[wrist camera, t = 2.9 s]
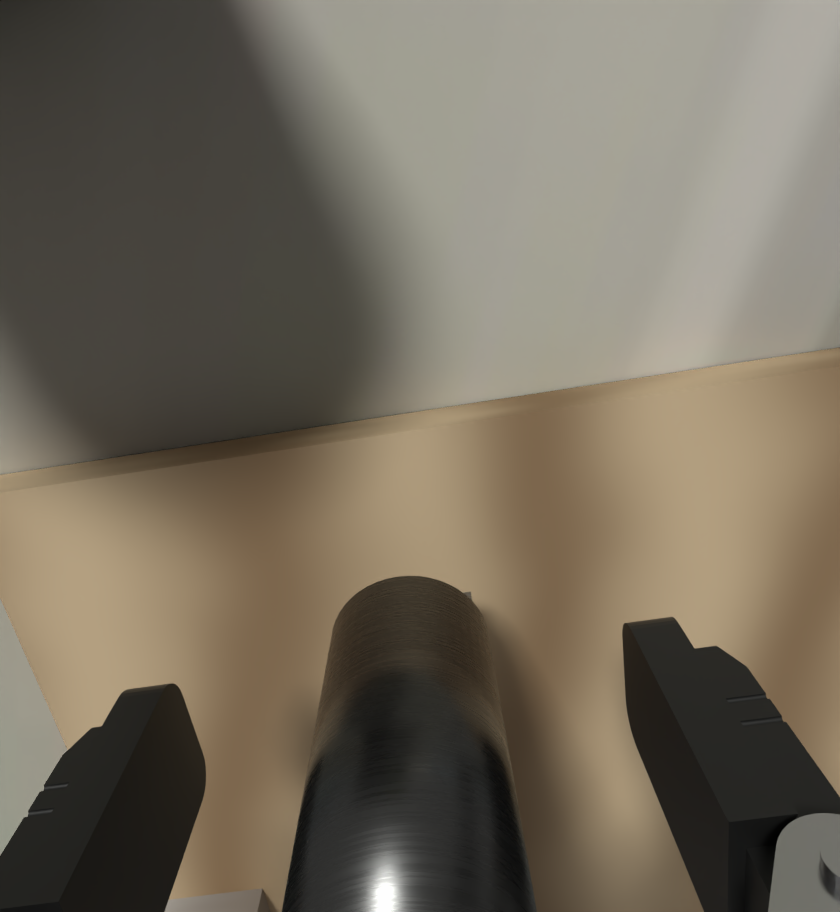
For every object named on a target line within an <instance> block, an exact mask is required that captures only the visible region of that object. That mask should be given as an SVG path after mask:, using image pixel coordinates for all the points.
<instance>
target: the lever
mask: <svg viewBox="0 0 840 912" xmlns="http://www.w3.org/2000/svg"><path fill="white" fill-rule="evenodd" d="M282 912H537V909H536V903H535V897H534V892H533V886H532V880H531V875H530V869H529V863H528V857H527V852H526V846H525V840H524V834H523V829H522V823H521V817H520V811H519V806H518V800H517V794H516V789H515V783H514V777H513V771H512V766H511V760H510V754H509V748H508V743H507V737H506V731H505V725H504V720H503V714H502V708H501V703H500V697H499V691H498V685H497V680H496V674H495V668H494V662H493V657H492V651H491V645H490V639H489V634H488V629H487V625H486V622H485V620H484V617H483V615H482V614H481V612H480V610H479V609H478V607H477V606H476V605H475V603H474V602H473V601H472V596H471V592H465V593H463V592H461V591H460V590H459V589H457V588H455V587H453V586H451V585H450V584H447V583H445V582H442V581H440V580H436V579H433V578H428V577H422V576H399V577H393V578H388V579H384V580H381V581H378V582H376V583H373V584H371V585H369V586H367V587H365V588H364V589H362V590H361V591H359V592H358V593H357V594H355V595H354V596H353V597H352V598H351V599H350V600H349V601H348V602H347V603H346V604H345V605H344V607H343V608H342V609H341V611H340V612H339V614H338V616H337V618H336V620H335V623H334V626H333V630H332V636H331V641H330V647H329V652H328V658H327V663H326V669H325V674H324V680H323V685H322V691H321V696H320V702H319V707H318V713H317V719H316V724H315V730H314V735H313V741H312V746H311V752H310V757H309V763H308V768H307V774H306V779H305V785H304V790H303V796H302V801H301V807H300V813H299V818H298V824H297V829H296V835H295V840H294V846H293V851H292V857H291V862H290V868H289V873H288V879H287V884H286V890H285V895H284V901H283V907H282Z"/></svg>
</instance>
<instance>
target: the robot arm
mask: <svg viewBox="0 0 840 912" xmlns="http://www.w3.org/2000/svg"><path fill="white" fill-rule="evenodd" d="M622 640H623V659H624V677H625V696H626V708H627V714H628V719H629V724H630V728H631V732H632V735H633V738H634V741H635V744H636V747H637V749H638V752H639V754H640V757H641V759H642V762H643V764H644V766H645V769H646V771H647V774H648V776H649V779H650V781H651V783H652V786H653V788H654V791H655V793H656V796H657V798H658V801H659V803H660V805H661V808H662V810H663V813H664V815H665V818H666V820H667V822H668V825H669V827H670V830H671V832H672V835H673V837H674V840H675V842H676V844H677V847H678V849H679V852H680V854H681V857H682V859H683V861H684V864H685V866H686V869H687V871H688V874H689V876H690V879H691V881H692V883H693V886H694V888H695V891H696V893H697V896H698V898H699V901H700V903H701V905H702V908H703V910H704V912H840V797H839V795H838V794H837V792H836V791H835V790H834V788H833V787H832V785H831V784H830V783H829V781H828V780H827V778H826V777H825V775H824V774H823V773H822V771H821V770H820V768H819V767H818V766H817V764H816V763H815V761H814V760H813V759H812V757H811V756H810V754H809V753H808V752H807V750H806V749H805V747H804V746H803V745H802V743H801V742H800V740H799V739H798V738H797V736H796V735H795V733H794V732H793V731H792V729H791V728H790V726H789V725H788V724H787V722H784V721H783V719H782V715H781V714H780V712H779V711H778V710H777V708H776V707H775V705H774V704H773V703H772V701H771V700H770V699H767V697H766V693H765V691H764V690H763V689H762V687H761V686H760V684H759V683H758V682H757V680H756V679H755V677H754V676H753V675H752V673H751V672H750V670H749V669H748V668H747V666H745V665H744V664H742V663H741V662H740V661H738V660H737V659H735V658H734V657H732V656H731V655H729V654H728V653H726V652H725V651H724V650H722V649H721V648H719V647H718V646H710V647H703V648H694V647H693V645H692V644H691V642H690V641H689V639H688V637H687V636H686V634H685V633H684V631H683V629H682V628H681V626H680V625H679V623H678V622H677V620H676V619H675V618H674V617H666V618H658V619H651V620H644V621H636V622H629V623H624V624H623V628H622ZM205 786H206V766H205V759H204V755H203V752H202V749H201V746H200V743H199V741H198V738H197V735H196V732H195V729H194V726H193V723H192V720H191V718H190V715H189V712H188V709H187V706H186V703H185V700H184V697H183V695H182V692H181V690H180V688H179V687H178V686H177V685H176V684H174V683H170V684H163V685H155V686H148V687H140V688H133V689H127V690H125V691H123V692H122V693H121V694H120V696H119V697H118V699H117V701H116V702H115V704H114V706H113V707H112V709H111V711H110V713H109V714H108V716H107V718H106V720H105V721H104V723H103V725H102V726H101V727H93V728H91V729H90V730H89V731H88V732H86V733H85V734H84V735H83V736H82V737H81V738H80V739H79V740H78V741H77V742H76V743H75V744H74V745H73V746H72V747H71V748H70V749H69V750H68V751H67V752H65V753H64V754H63V755H62V757H61V759H60V760H59V762H58V763H57V765H56V767H55V768H54V770H53V772H52V773H51V775H50V776H49V778H48V780H47V781H46V783H45V785H44V791H41V792H40V793H39V794H38V796H37V797H36V799H35V801H34V802H33V804H32V806H31V807H30V809H29V810H28V812H29V814H28V817H25V818H23V820H22V822H21V823H20V825H19V827H18V828H17V830H16V831H15V833H14V835H13V836H12V838H11V840H10V841H9V843H8V844H7V846H6V848H5V849H4V851H3V852H2V854H1V856H0V912H165V909H166V906H167V903H168V900H169V897H170V894H171V891H172V888H173V886H174V883H175V880H176V877H177V874H178V871H179V868H180V865H181V862H182V859H183V856H184V853H185V850H186V847H187V845H188V842H189V839H190V836H191V833H192V830H193V827H194V824H195V821H196V818H197V815H198V812H199V809H200V806H201V804H202V801H203V797H204V793H205Z"/></svg>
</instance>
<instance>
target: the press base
mask: <svg viewBox="0 0 840 912" xmlns="http://www.w3.org/2000/svg"><path fill="white" fill-rule="evenodd" d="M399 576H422V577H428V578H433V579H436V580H440V581H442V582H445V583H447V584H450V585H451V586H453V587H455V588H457V589H459V590H460V591H461V592H463V593H465V592H471V596H472V601H473V602H474V603H475V605H476V606H477V607H478V609H479V610H480V612H481V614H482V615H483V617H484V620H485V622H486V625H487V629H488V634H489V639H490V645H491V651H492V657H493V662H494V668H495V674H496V680H497V685H498V691H499V697H500V703H501V708H502V714H503V720H504V725H505V731H506V737H507V743H508V748H509V754H510V760H511V766H512V771H513V777H514V783H515V789H516V794H517V800H518V806H519V811H520V817H521V823H522V829H523V834H524V840H525V846H526V852H527V857H528V863H529V869H530V875H531V880H532V886H533V892H534V897H535V903H536V909H537V912H704V910H703V908H702V905H701V903H700V901H699V898H698V896H697V893H696V891H695V888H694V886H693V883H692V881H691V879H690V876H689V874H688V871H687V869H686V866H685V864H684V861H683V859H682V857H681V854H680V852H679V849H678V847H677V844H676V842H675V840H674V837H673V835H672V832H671V830H670V827H669V825H668V822H667V820H666V818H665V815H664V813H663V810H662V808H661V805H660V803H659V801H658V798H657V796H656V793H655V791H654V788H653V786H652V783H651V781H650V779H649V776H648V774H647V771H646V769H645V766H644V764H643V762H642V759H641V757H640V754H639V752H638V749H637V747H636V744H635V741H634V738H633V735H632V732H631V728H630V724H629V719H628V714H627V708H626V696H625V677H624V659H623V640H622V628H623V624H624V623H629V622H636V621H644V620H651V619H658V618H666V617H674V618H675V619H676V620H677V622H678V623H679V625H680V626H681V628H682V629H683V631H684V633H685V634H686V636H687V637H688V639H689V641H690V642H691V644H692V645H693V647H694V648H703V647H710V646H718V647H719V648H721V649H722V650H724V651H725V652H726V653H728V654H729V655H731V656H732V657H734V658H735V659H737V660H738V661H740V662H741V663H742V664H744V665H745V666H747V668H748V669H749V670H750V672H751V673H752V675H753V676H754V677H755V679H756V680H757V682H758V683H759V684H760V686H761V687H762V689H763V690H764V691H765V693H766V697H767V699H770V700H771V701H772V703H773V704H774V705H775V707H776V708H777V710H778V711H779V712H780V714H781V715H782V719H783V721H784V722H787V724H788V725H789V726H790V728H791V729H792V731H793V732H794V733H795V735H796V736H797V738H798V739H799V740H800V742H801V743H802V745H803V746H804V747H805V749H806V750H807V752H808V753H809V754H810V756H811V757H812V759H813V760H814V761H815V763H816V764H817V766H818V767H819V768H820V770H821V771H822V773H823V774H824V775H825V777H826V778H827V780H828V781H829V783H830V784H831V785H832V787H833V788H834V790H835V791H836V792H837V794H838V795H839V797H840V348H833V349H827V350H820V351H814V352H807V353H800V354H794V355H787V356H781V357H774V358H767V359H761V360H754V361H748V362H741V363H735V364H728V365H721V366H715V367H708V368H702V369H695V370H688V371H682V372H675V373H669V374H662V375H655V376H649V377H642V378H636V379H629V380H623V381H616V382H609V383H603V384H596V385H590V386H583V387H576V388H570V389H563V390H557V391H550V392H544V393H537V394H530V395H524V396H517V397H511V398H504V399H497V400H491V401H484V402H478V403H471V404H464V405H458V406H451V407H445V408H438V409H432V410H425V411H418V412H412V413H405V414H399V415H392V416H385V417H379V418H372V419H366V420H359V421H353V422H346V423H339V424H333V425H326V426H320V427H313V428H306V429H300V430H293V431H287V432H280V433H274V434H267V435H260V436H254V437H247V438H241V439H234V440H227V441H221V442H214V443H208V444H201V445H194V446H188V447H181V448H175V449H168V450H162V451H155V452H148V453H142V454H135V455H129V456H122V457H115V458H109V459H102V460H96V461H89V462H83V463H76V464H69V465H63V466H56V467H50V468H43V469H36V470H30V471H23V472H17V473H10V474H3V475H0V599H1V601H2V603H3V605H4V608H5V610H6V612H7V614H8V617H9V619H10V621H11V623H12V626H13V628H14V630H15V632H16V635H17V637H18V639H19V641H20V644H21V646H22V648H23V650H24V653H25V655H26V657H27V659H28V662H29V664H30V666H31V668H32V671H33V673H34V675H35V677H36V680H37V682H38V684H39V686H40V689H41V691H42V693H43V695H44V698H45V700H46V702H47V704H48V707H49V709H50V711H51V713H52V716H53V718H54V720H55V722H56V725H57V727H58V729H59V731H60V734H61V736H62V738H63V740H64V743H65V745H66V747H67V749H68V750H69V749H70V748H71V747H72V746H73V745H74V744H75V743H76V742H77V741H78V740H79V739H80V738H81V737H82V736H83V735H84V734H85V733H86V732H88V731H89V730H90V729H91V728H93V727H101V726H102V725H103V723H104V721H105V720H106V718H107V716H108V714H109V713H110V711H111V709H112V707H113V706H114V704H115V702H116V701H117V699H118V697H119V696H120V694H121V693H122V692H123V691H125V690H127V689H133V688H140V687H148V686H155V685H163V684H170V683H174V684H176V685H177V686H178V687H179V688H180V690H181V692H182V695H183V697H184V700H185V703H186V706H187V709H188V712H189V715H190V718H191V720H192V723H193V726H194V729H195V732H196V735H197V738H198V741H199V743H200V746H201V749H202V752H203V755H204V759H205V766H206V786H205V793H204V797H203V801H202V804H201V806H200V809H199V812H198V815H197V818H196V821H195V824H194V827H193V830H192V833H191V836H190V839H189V842H188V845H187V847H186V850H185V853H184V856H183V859H182V862H181V865H180V868H179V871H178V874H177V877H176V880H175V883H174V886H173V888H172V891H171V894H170V897H169V900H168V903H167V906H166V909H165V912H282V907H283V901H284V895H285V890H286V884H287V879H288V873H289V868H290V862H291V857H292V851H293V846H294V840H295V835H296V829H297V824H298V818H299V813H300V807H301V801H302V796H303V790H304V785H305V779H306V774H307V768H308V763H309V757H310V752H311V746H312V741H313V735H314V730H315V724H316V719H317V713H318V707H319V702H320V696H321V691H322V685H323V680H324V674H325V669H326V663H327V658H328V652H329V647H330V641H331V636H332V630H333V626H334V623H335V620H336V618H337V616H338V614H339V612H340V611H341V609H342V608H343V607H344V605H345V604H346V603H347V602H348V601H349V600H350V599H351V598H352V597H353V596H354V595H355V594H357V593H358V592H359V591H361V590H362V589H364V588H365V587H367V586H369V585H371V584H373V583H376V582H378V581H381V580H384V579H388V578H393V577H399Z"/></svg>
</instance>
